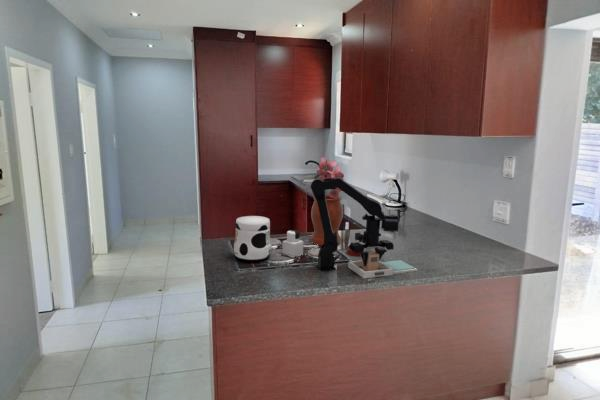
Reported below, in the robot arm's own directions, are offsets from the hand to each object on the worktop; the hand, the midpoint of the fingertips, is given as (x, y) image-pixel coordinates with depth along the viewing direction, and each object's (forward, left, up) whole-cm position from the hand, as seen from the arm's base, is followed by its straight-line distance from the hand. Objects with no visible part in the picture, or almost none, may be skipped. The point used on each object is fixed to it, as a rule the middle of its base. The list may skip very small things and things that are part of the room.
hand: (370, 265), depth 175 cm
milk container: (-44, +31, -3) cm, 54 cm away
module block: (0, 0, -2) cm, 2 cm away
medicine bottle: (-25, +29, -3) cm, 38 cm away
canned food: (+6, +23, -3) cm, 24 cm away
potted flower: (0, +46, -3) cm, 46 cm away
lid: (+14, 0, -2) cm, 14 cm away
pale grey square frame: (0, 0, -2) cm, 2 cm away
